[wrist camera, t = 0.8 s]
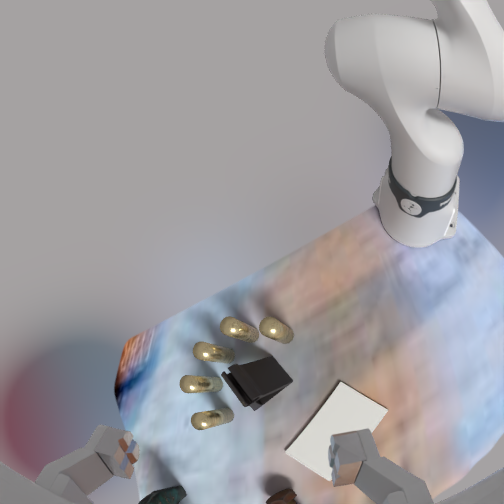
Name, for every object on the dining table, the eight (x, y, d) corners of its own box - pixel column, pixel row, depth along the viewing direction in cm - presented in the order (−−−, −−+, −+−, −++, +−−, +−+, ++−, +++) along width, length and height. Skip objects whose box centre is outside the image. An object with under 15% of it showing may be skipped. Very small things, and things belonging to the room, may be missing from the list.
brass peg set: (254, 304, 54) (232, 290, 46) (296, 332, 49) (282, 323, 40) (191, 393, 51) (160, 393, 42) (228, 425, 46) (200, 433, 37)
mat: (340, 381, 43) (340, 381, 42) (387, 409, 37) (388, 410, 37) (285, 451, 40) (284, 452, 40) (330, 480, 35) (329, 481, 35)
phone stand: (273, 356, 49) (248, 350, 38) (293, 381, 45) (274, 383, 35) (236, 385, 49) (203, 386, 38) (255, 410, 45) (225, 419, 35)
